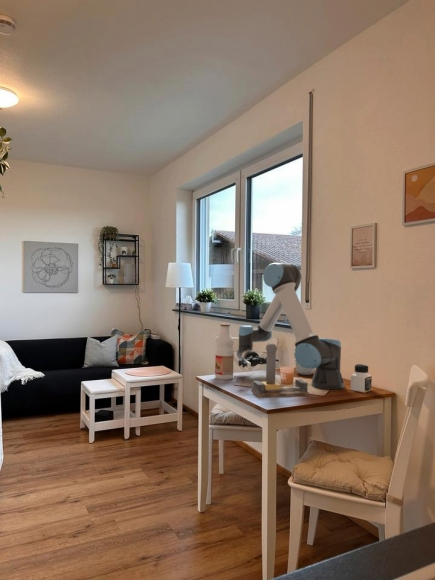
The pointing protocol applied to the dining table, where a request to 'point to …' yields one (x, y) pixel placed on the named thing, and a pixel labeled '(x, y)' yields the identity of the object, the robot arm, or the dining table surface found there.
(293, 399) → the dining table surface
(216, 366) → the fruit juice
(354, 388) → the medicine bottle
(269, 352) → the post
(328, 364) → the robot arm
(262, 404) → the dining table surface
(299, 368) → the teacup
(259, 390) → the rail board
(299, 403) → the dining table surface
